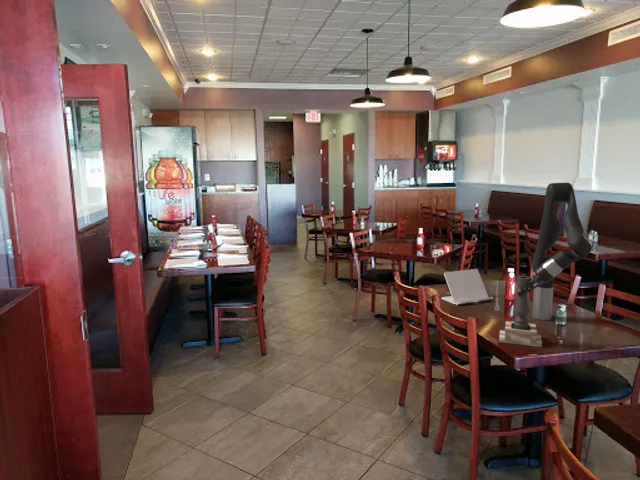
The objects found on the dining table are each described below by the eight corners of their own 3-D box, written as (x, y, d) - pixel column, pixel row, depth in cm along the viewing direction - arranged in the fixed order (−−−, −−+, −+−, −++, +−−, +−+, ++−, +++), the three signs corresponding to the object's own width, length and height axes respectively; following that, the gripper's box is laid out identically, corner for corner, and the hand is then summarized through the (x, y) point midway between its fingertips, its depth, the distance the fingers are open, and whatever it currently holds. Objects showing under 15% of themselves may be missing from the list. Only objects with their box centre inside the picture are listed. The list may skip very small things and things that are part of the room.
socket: (499, 332, 232) (500, 320, 231) (540, 337, 225) (541, 324, 224) (498, 342, 219) (499, 329, 218) (542, 347, 213) (542, 333, 212)
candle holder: (524, 327, 224) (527, 275, 221) (530, 332, 218) (533, 278, 215) (511, 327, 224) (514, 276, 220) (517, 332, 218) (520, 279, 214)
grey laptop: (440, 298, 291) (441, 271, 288) (473, 294, 300) (474, 267, 298) (459, 306, 274) (461, 278, 272) (493, 301, 284) (495, 273, 281)
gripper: (541, 260, 220) (512, 284, 227) (543, 267, 207) (512, 291, 213) (553, 273, 219) (524, 296, 225) (556, 280, 206) (524, 304, 212)
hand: (518, 293), depth 219 cm, fingers closed on candle holder, 5 cm apart
